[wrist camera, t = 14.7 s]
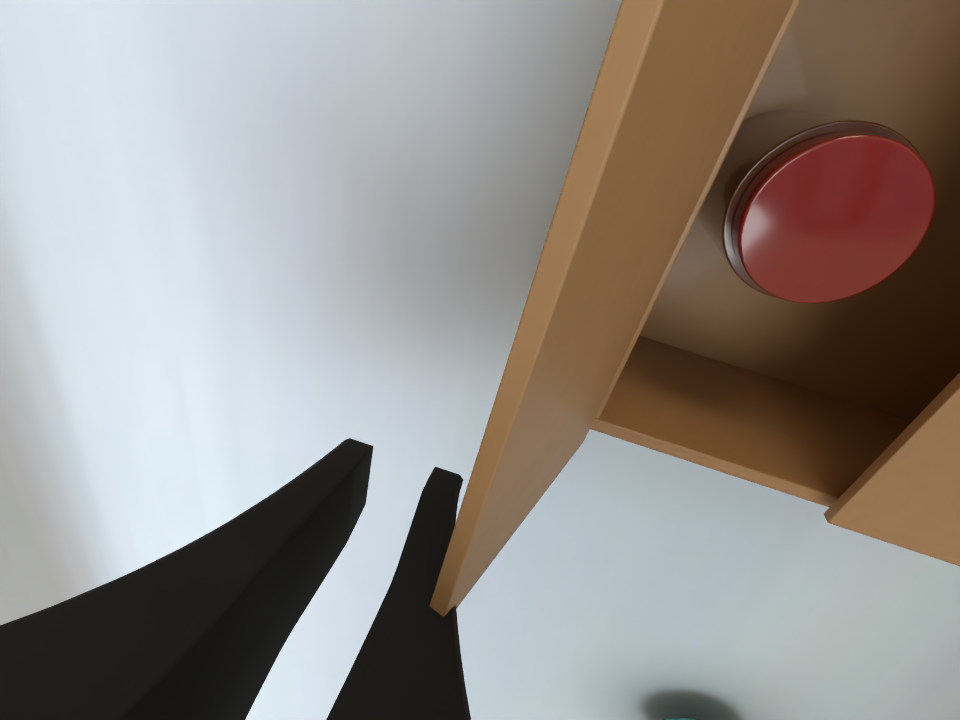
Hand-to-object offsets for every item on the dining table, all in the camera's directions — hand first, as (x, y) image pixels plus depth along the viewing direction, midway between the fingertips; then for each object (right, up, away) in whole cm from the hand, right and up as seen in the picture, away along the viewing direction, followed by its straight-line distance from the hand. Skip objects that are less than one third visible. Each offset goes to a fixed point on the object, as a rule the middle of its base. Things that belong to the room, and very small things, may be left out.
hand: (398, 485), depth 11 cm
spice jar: (+11, +8, +3) cm, 14 cm away
